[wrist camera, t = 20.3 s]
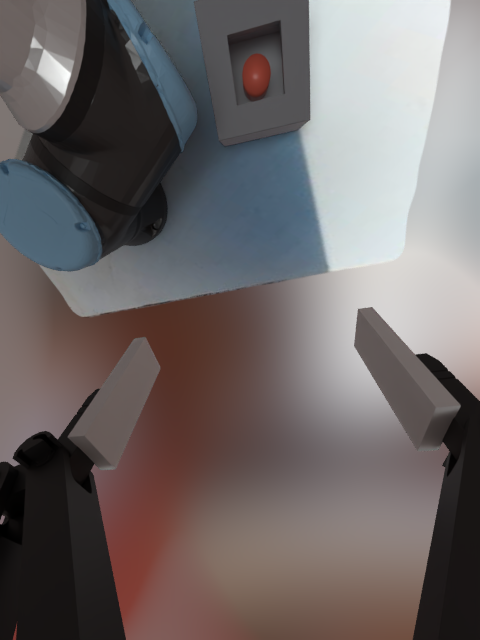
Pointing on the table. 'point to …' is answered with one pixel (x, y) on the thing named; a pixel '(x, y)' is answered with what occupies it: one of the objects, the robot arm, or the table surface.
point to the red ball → (256, 77)
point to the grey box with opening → (237, 46)
